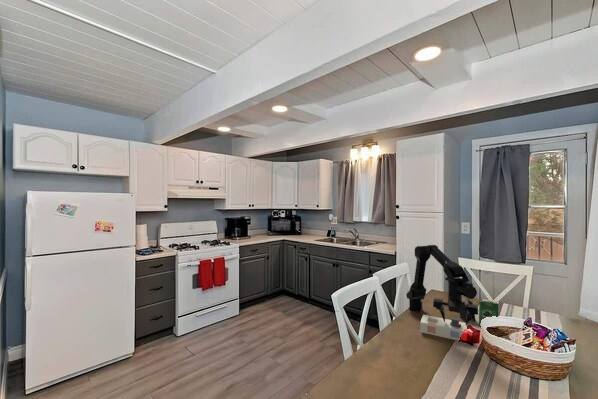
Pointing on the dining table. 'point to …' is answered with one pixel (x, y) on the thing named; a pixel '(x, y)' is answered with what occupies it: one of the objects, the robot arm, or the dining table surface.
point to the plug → (455, 322)
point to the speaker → (464, 313)
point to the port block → (441, 327)
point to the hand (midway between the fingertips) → (455, 323)
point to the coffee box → (487, 309)
